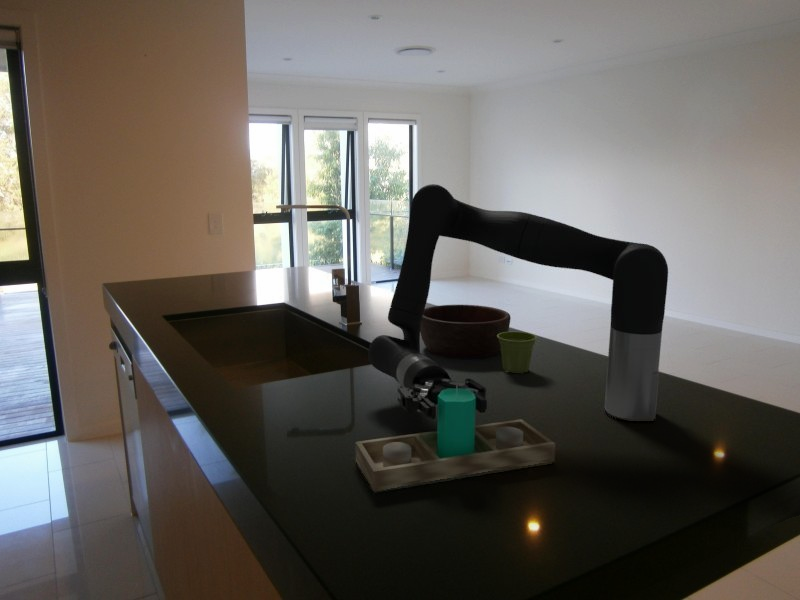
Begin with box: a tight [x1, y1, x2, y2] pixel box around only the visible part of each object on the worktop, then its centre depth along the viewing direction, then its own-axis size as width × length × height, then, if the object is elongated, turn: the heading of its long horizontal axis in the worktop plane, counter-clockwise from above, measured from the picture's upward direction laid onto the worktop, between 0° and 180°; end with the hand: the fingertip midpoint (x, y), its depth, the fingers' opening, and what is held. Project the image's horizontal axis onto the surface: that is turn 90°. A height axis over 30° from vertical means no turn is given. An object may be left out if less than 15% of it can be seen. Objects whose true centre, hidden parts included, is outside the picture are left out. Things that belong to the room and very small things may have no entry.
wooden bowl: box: [420, 304, 511, 359], centre depth 161 cm, size 25×25×10 cm
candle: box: [436, 386, 476, 459], centre depth 94 cm, size 6×6×12 cm
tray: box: [354, 418, 556, 492], centre depth 95 cm, size 30×11×4 cm, turn 109°
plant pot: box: [497, 331, 538, 374], centre depth 143 cm, size 9×9×9 cm
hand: (459, 410), depth 92 cm, fingers open, 8 cm apart
